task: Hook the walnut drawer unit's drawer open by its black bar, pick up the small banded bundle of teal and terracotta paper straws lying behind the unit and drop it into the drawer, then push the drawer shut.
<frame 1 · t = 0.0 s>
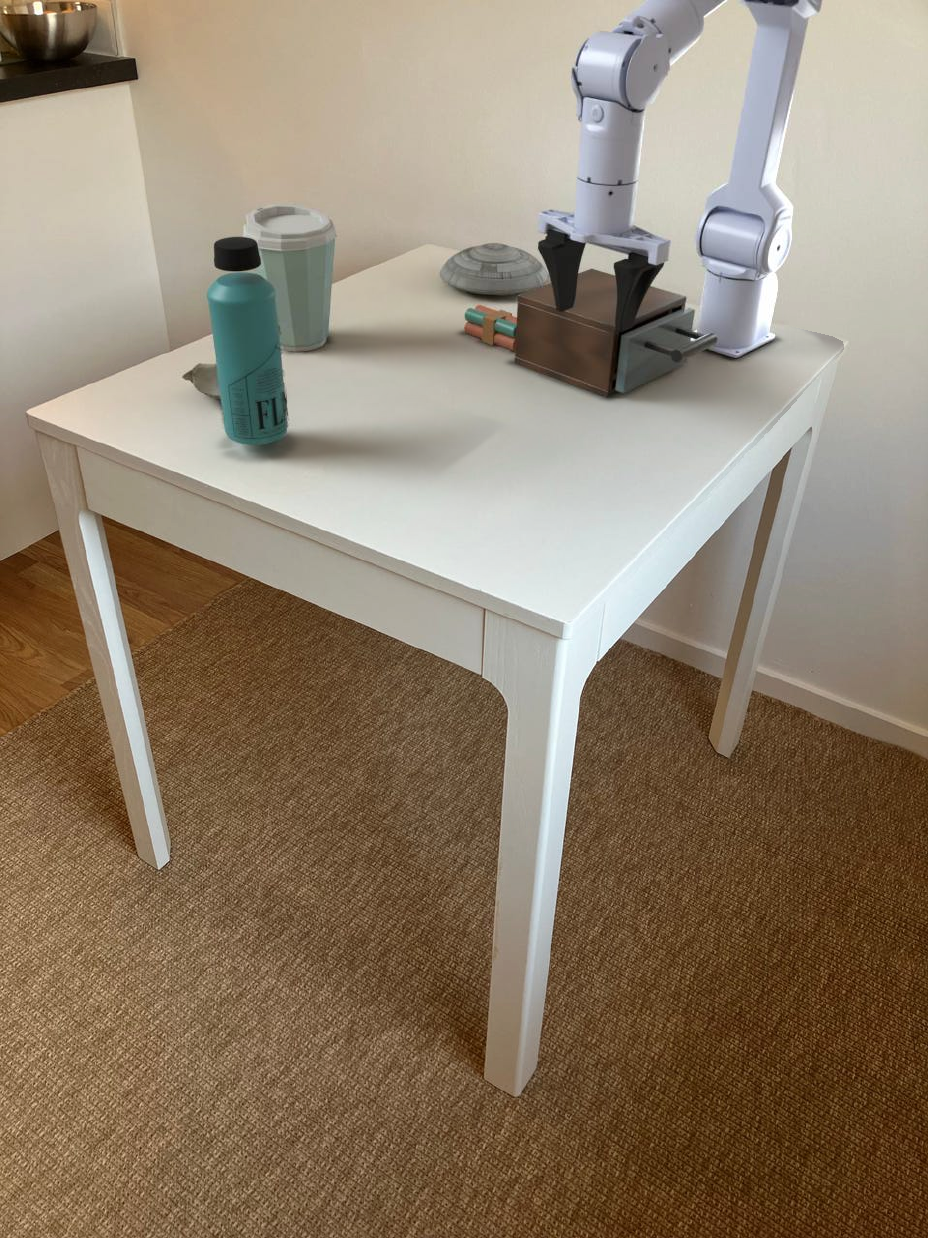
hand: (593, 318, 106), 10 cm above the table, tool pointing down, fingers open, 7 cm apart
flying saucer: (493, 285, 145), on the table
beverage bottle: (258, 446, 104), on the table
cabinet: (595, 363, 123), on the table
disposable coffee cup: (298, 344, 126), on the table
straws: (496, 340, 128), on the table
seashell: (226, 395, 114), on the table
drawer: (632, 341, 118), point 4 cm above the table, slide at 0.5 cm
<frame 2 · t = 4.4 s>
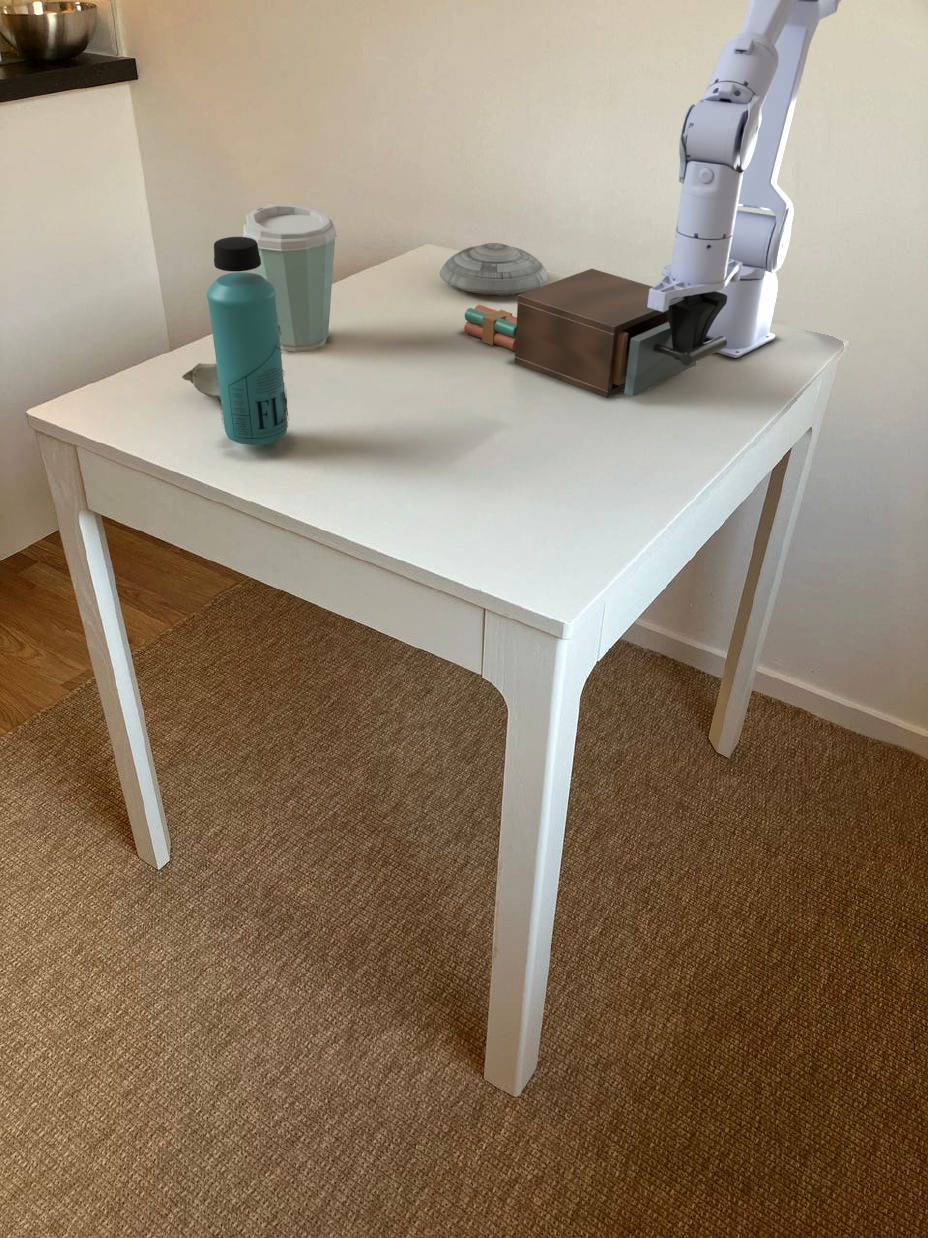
hand: (684, 359, 114), 4 cm above the table, tool pointing down, fingers closed, pressing on drawer
drawer: (641, 344, 117), point 4 cm above the table, slide at 1.7 cm, touching gripper
everything else where it was.
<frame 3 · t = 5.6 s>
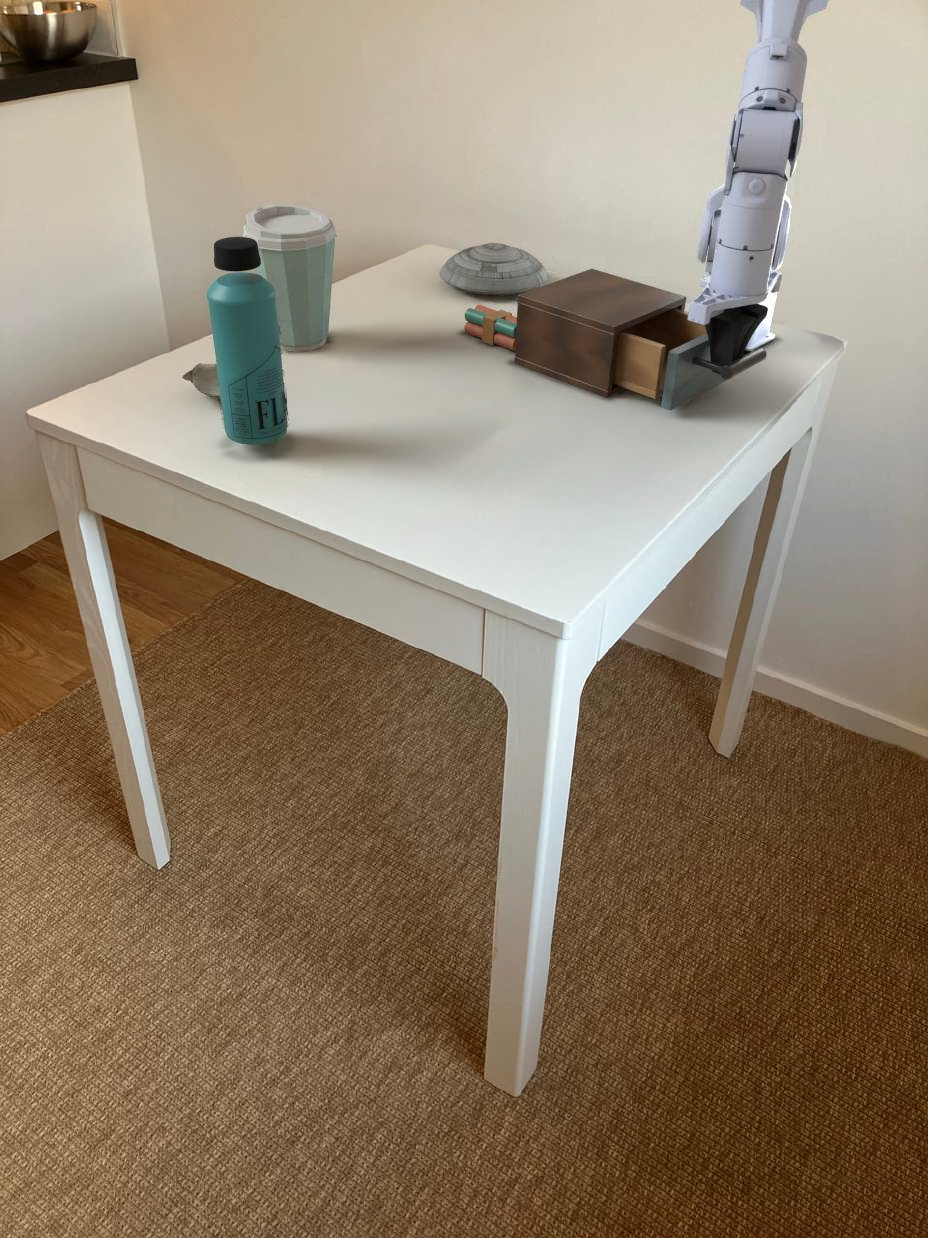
hand: (722, 372, 111), 4 cm above the table, tool pointing down, fingers closed, pressing on drawer
drawer: (677, 356, 114), point 4 cm above the table, slide at 6.6 cm, touching gripper
everything else where it was.
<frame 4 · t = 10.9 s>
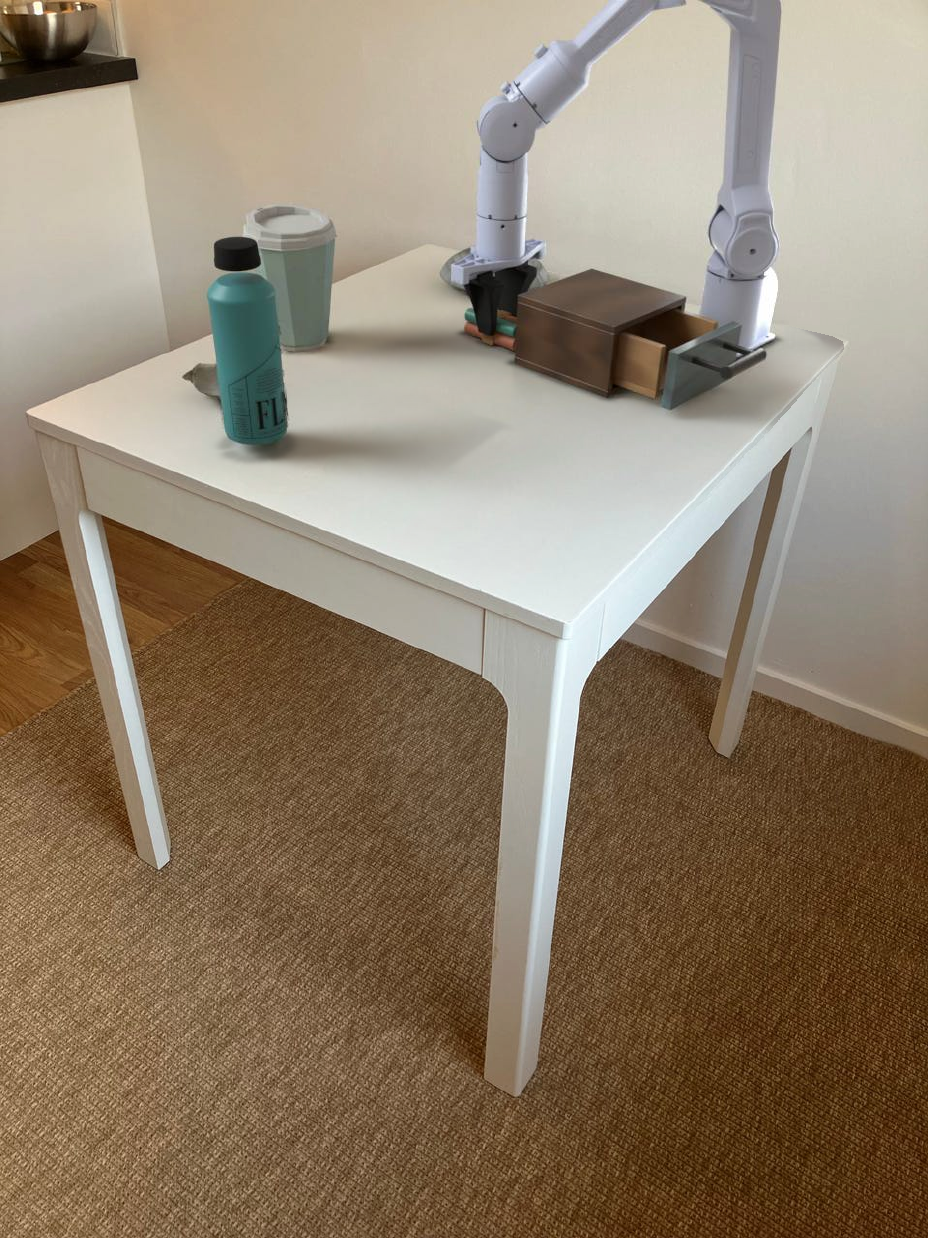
hand: (497, 329, 127), 1 cm above the table, tool pointing down, fingers closed on straws, 3 cm apart
straws: (496, 340, 128), on the table, touching gripper
drawer: (677, 356, 114), point 4 cm above the table, slide at 6.6 cm
everything else where it was.
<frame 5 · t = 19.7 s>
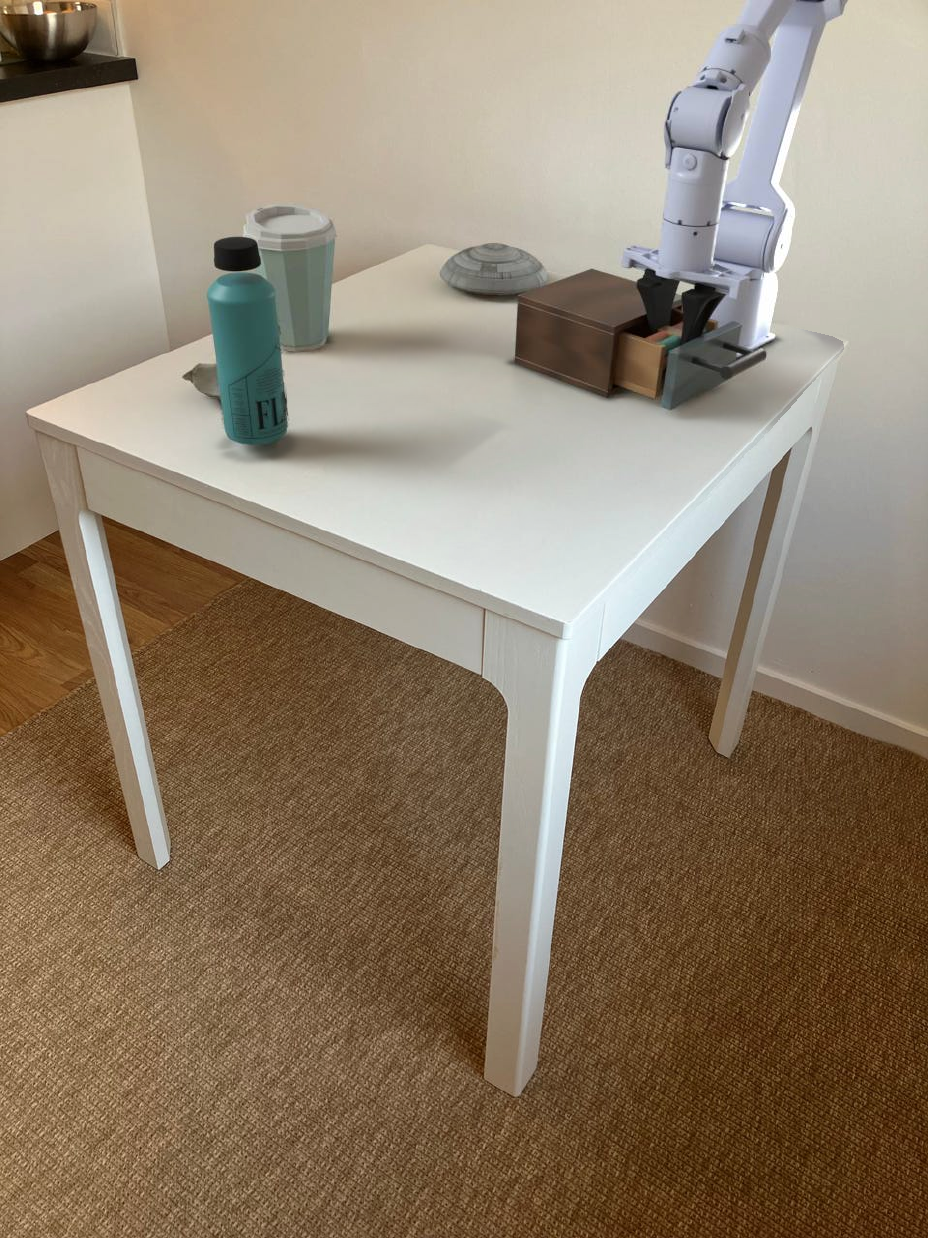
hand: (672, 346, 114), 5 cm above the table, tool pointing down, fingers closed on straws, 3 cm apart
straws: (671, 359, 115), point 4 cm above the table, touching gripper
everything else where it was.
when the fingers open (9 cm above the table, at t = 31.4 s): straws drops 5 cm, resting on drawer.
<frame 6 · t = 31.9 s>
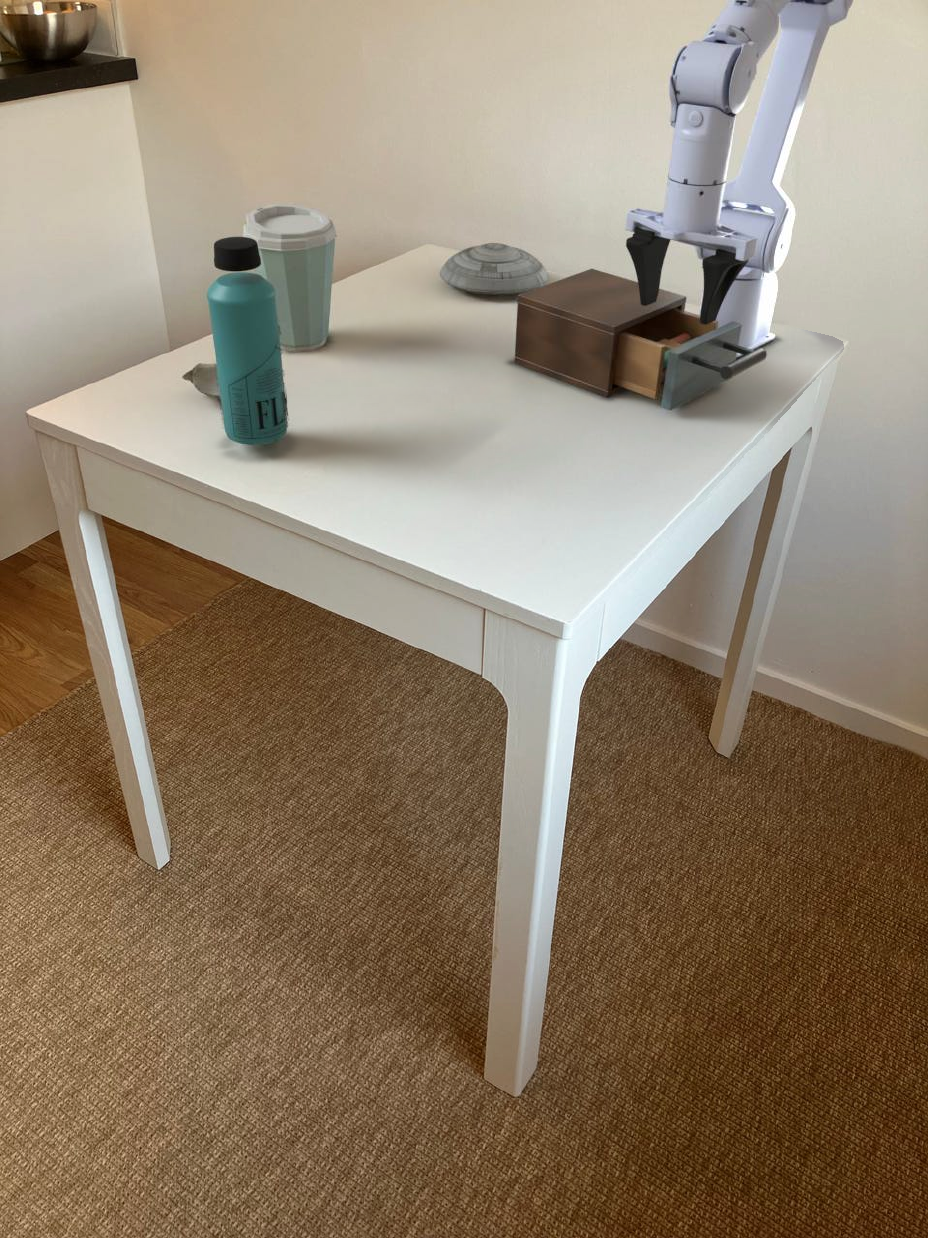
hand: (677, 312, 112), 9 cm above the table, tool pointing down, fingers open, 7 cm apart
straws: (668, 372, 116), point 2 cm above the table, touching drawer
drawer: (677, 356, 114), point 4 cm above the table, slide at 6.6 cm, touching straws
everything else where it was.
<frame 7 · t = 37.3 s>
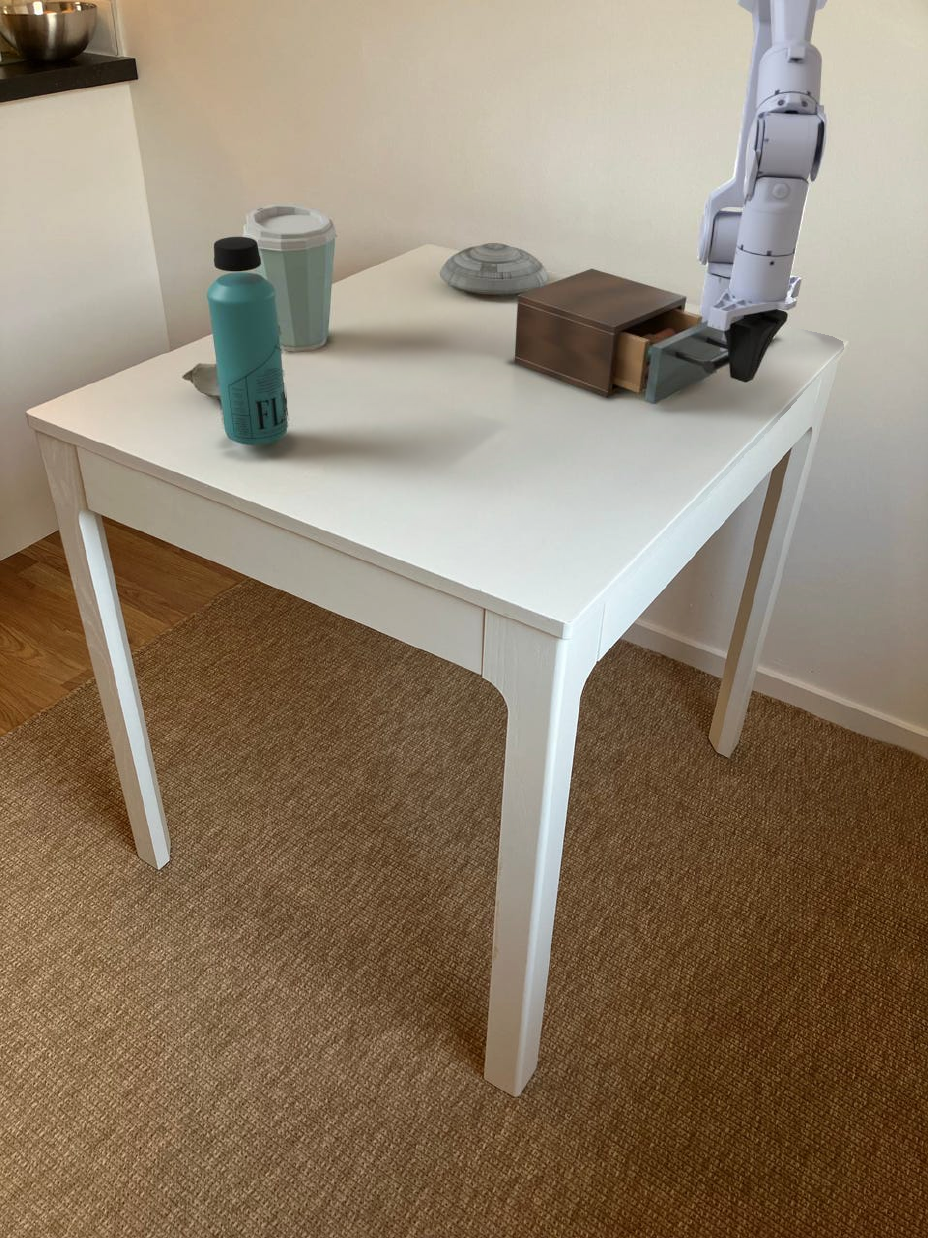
hand: (741, 378, 110), 4 cm above the table, tool pointing down, fingers closed, pressing on drawer
straws: (653, 366, 117), point 2 cm above the table, touching drawer
drawer: (661, 351, 116), point 4 cm above the table, slide at 4.5 cm, touching gripper, straws
everything else where it was.
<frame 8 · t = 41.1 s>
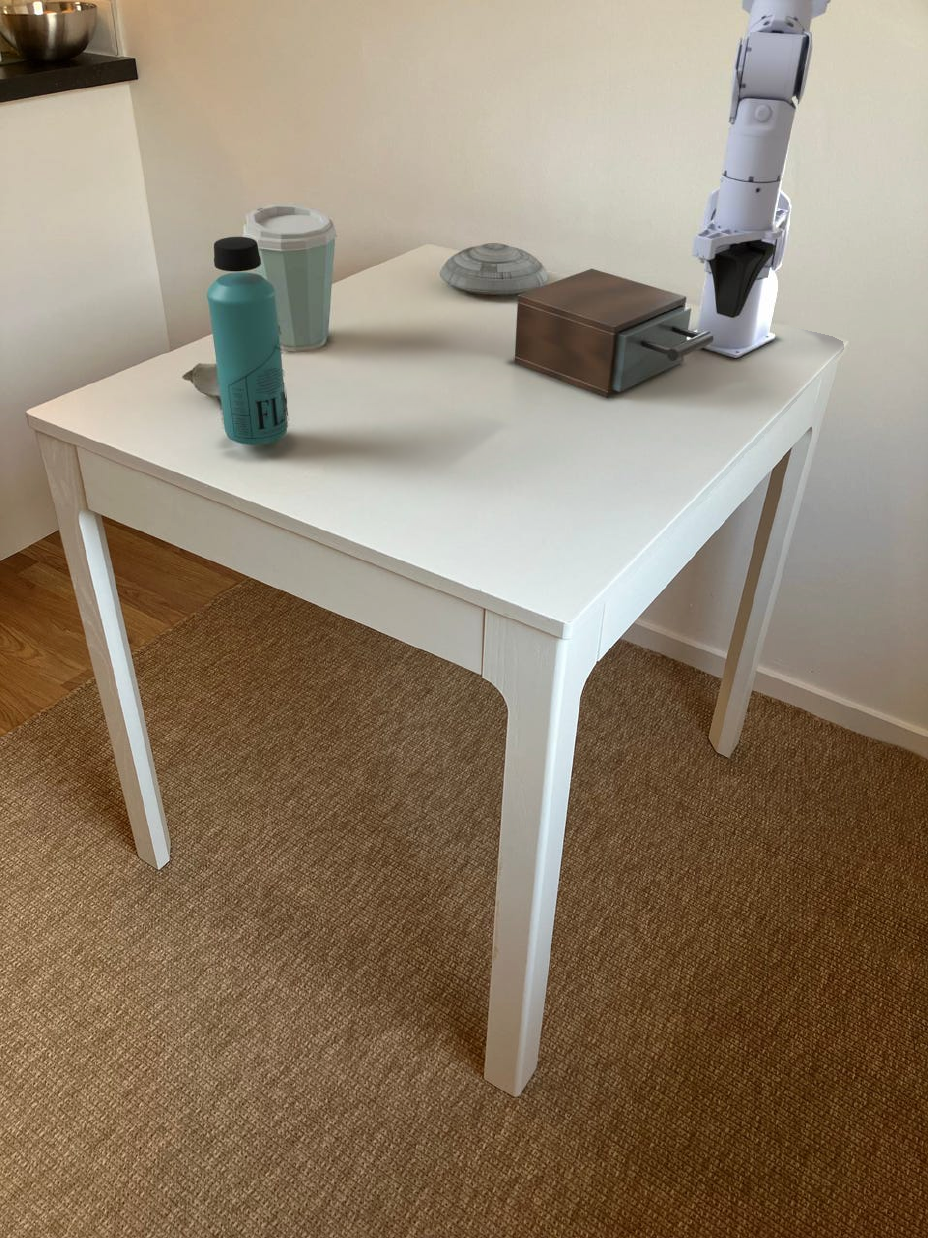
hand: (728, 314, 108), 10 cm above the table, tool pointing down, fingers closed
straws: (620, 355, 120), point 2 cm above the table, touching drawer
drawer: (628, 340, 118), point 4 cm above the table, slide at 0.0 cm, touching cabinet, straws
everything else where it was.
at the end: drawer pulled out 6.6 cm at the most during the clip, back to where it started at the end; straws inside the target area in the cabinet (3.1 cm from its centre), point 2.0 cm above the cabinet's base; drawer slide at 0.0 cm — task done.
